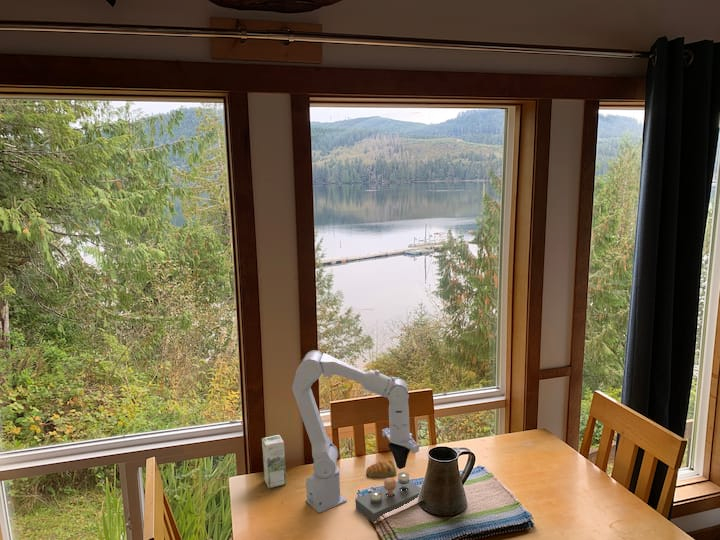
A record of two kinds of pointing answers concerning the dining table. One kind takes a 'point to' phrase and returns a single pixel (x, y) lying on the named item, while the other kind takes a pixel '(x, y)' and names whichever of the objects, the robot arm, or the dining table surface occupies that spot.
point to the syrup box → (274, 461)
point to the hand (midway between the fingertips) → (401, 467)
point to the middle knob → (390, 486)
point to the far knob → (403, 480)
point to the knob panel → (386, 501)
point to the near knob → (375, 497)
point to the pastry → (382, 469)
